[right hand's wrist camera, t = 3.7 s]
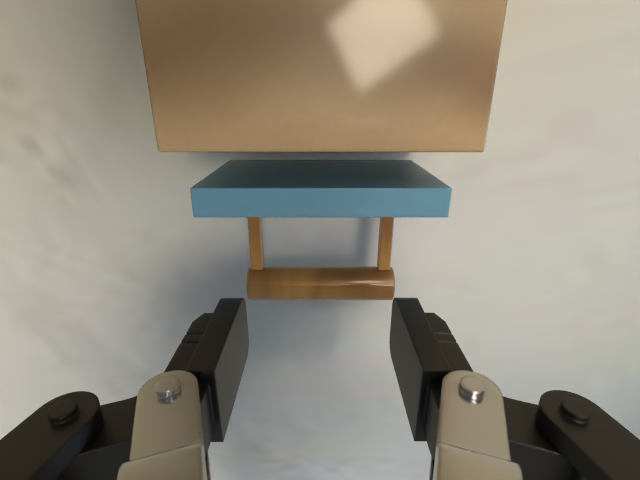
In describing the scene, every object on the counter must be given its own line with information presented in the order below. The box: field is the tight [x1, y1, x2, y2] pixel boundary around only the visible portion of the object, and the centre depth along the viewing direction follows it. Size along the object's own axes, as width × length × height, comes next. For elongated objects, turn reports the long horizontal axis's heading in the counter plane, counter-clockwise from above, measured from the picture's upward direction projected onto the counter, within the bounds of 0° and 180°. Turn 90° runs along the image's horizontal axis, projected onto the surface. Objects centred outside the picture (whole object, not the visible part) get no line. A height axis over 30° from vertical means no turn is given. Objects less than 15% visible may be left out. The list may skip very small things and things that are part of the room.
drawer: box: [190, 160, 452, 300], centre depth 16 cm, size 21×10×7 cm, turn 0°
